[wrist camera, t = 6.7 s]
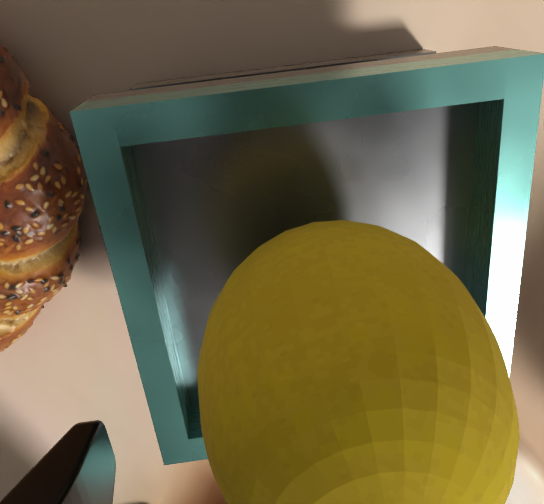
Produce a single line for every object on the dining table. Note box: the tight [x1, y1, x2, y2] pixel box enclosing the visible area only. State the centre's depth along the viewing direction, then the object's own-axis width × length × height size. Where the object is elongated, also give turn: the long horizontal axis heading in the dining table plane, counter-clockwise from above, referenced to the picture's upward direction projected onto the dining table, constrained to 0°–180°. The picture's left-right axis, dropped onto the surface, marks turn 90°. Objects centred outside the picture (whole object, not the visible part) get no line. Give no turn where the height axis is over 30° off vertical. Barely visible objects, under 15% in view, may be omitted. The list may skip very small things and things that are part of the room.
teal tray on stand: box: [70, 46, 544, 465], centre depth 15 cm, size 10×10×6 cm
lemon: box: [197, 220, 519, 504], centre depth 10 cm, size 6×6×8 cm
